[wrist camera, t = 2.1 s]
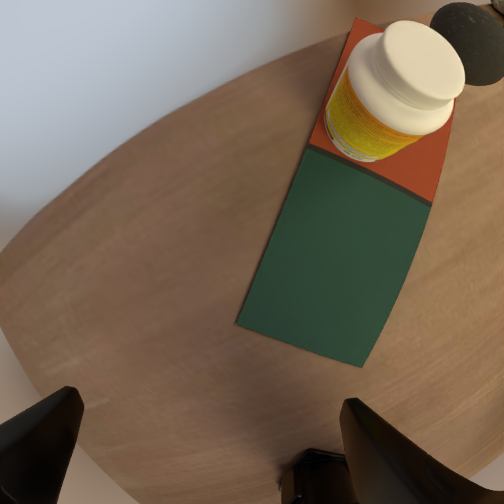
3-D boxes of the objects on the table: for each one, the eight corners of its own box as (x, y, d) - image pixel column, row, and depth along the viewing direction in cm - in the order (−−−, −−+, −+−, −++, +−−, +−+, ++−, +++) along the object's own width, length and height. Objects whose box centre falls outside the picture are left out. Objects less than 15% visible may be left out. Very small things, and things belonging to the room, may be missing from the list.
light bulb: (410, 117, 18) (487, 60, 8) (384, 54, 17) (435, -23, 8) (462, 113, 17) (540, 72, 7) (438, 55, 17) (497, -4, 7)
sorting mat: (458, 73, 17) (459, 72, 17) (361, 366, 20) (362, 368, 20) (355, 18, 17) (355, 16, 17) (236, 322, 20) (236, 323, 20)
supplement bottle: (381, 178, 19) (468, 146, 8) (309, 139, 19) (343, 66, 8) (406, 115, 18) (484, 55, 8) (339, 78, 18) (381, -12, 8)
